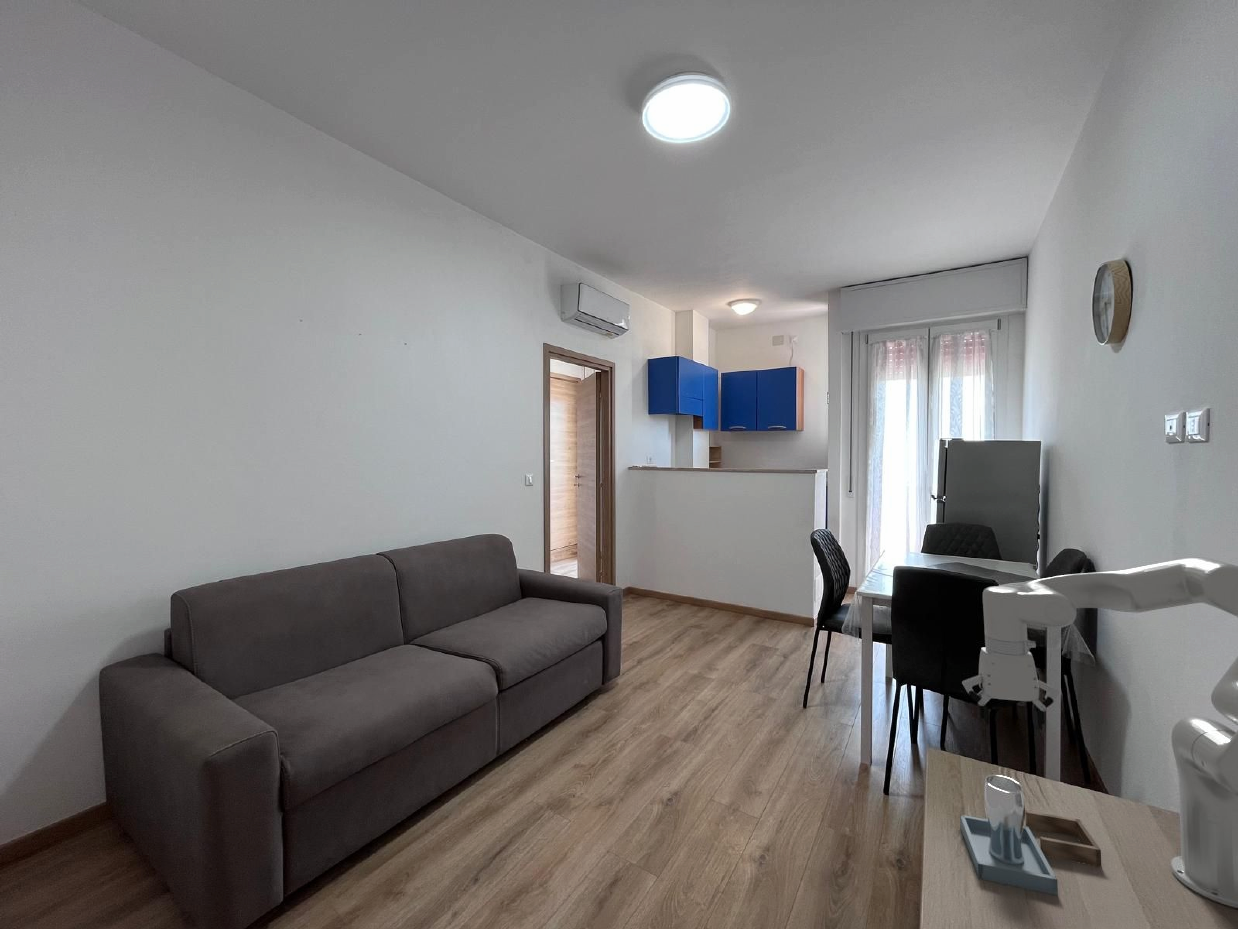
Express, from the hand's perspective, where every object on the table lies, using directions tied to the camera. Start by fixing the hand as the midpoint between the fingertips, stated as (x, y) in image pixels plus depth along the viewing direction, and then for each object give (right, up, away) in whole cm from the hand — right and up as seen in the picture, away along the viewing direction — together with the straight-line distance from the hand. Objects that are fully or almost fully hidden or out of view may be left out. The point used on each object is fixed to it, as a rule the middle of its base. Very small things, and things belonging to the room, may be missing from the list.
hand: (1010, 724), depth 116 cm
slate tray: (-3, -27, -3) cm, 27 cm away
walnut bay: (+11, -27, 0) cm, 29 cm away
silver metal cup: (-3, -26, -3) cm, 27 cm away
